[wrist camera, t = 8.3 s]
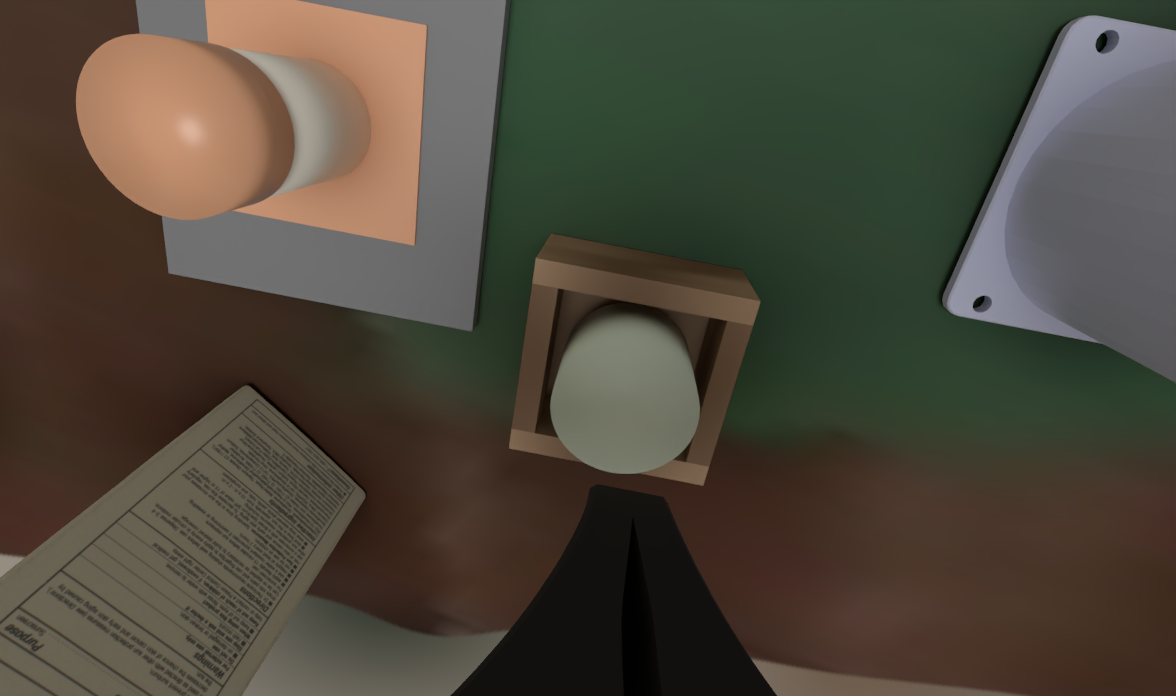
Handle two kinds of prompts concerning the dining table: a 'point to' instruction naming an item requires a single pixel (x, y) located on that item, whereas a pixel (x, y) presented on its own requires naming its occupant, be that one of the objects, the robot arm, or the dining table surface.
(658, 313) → the button
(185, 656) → the skincare box
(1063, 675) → the dining table surface
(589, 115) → the dining table surface
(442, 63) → the grey square plate
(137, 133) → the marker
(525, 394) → the button housing
